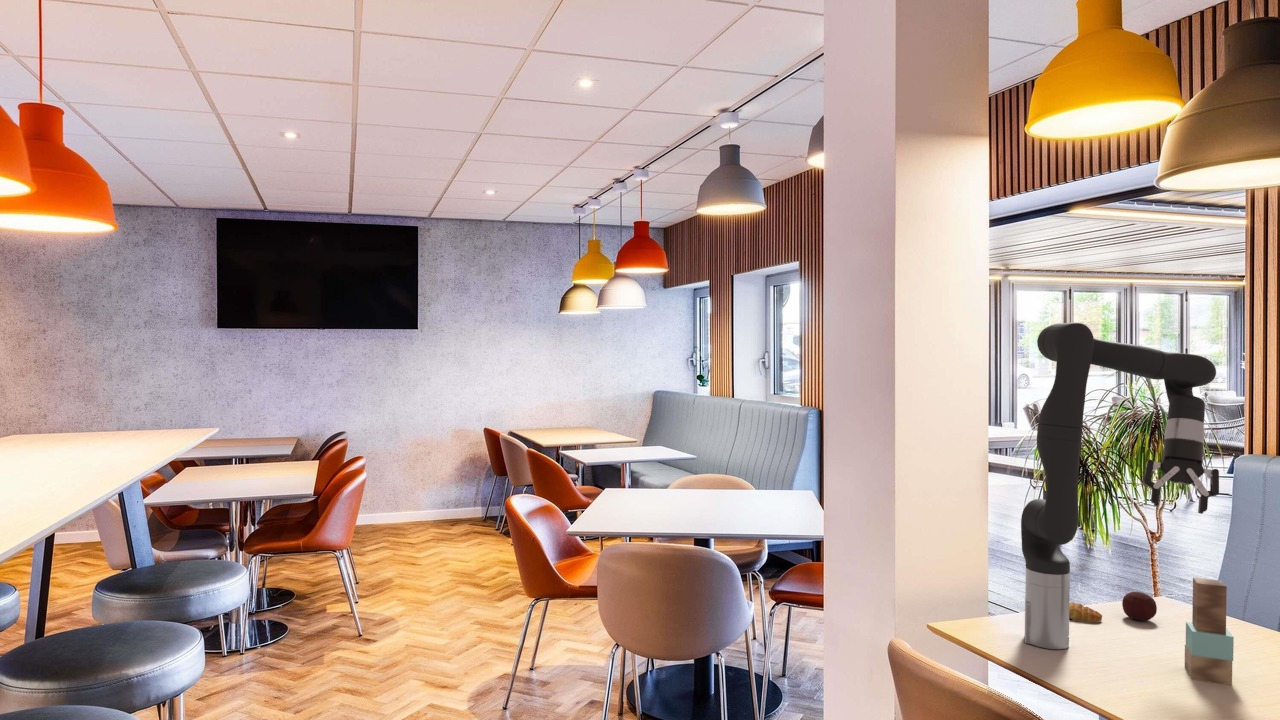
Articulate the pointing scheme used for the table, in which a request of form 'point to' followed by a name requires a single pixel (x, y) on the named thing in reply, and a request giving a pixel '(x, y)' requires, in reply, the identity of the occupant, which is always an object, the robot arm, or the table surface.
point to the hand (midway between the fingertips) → (1178, 509)
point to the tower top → (1209, 643)
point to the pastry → (1083, 613)
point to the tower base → (1208, 668)
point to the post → (1209, 605)
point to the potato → (1139, 606)
